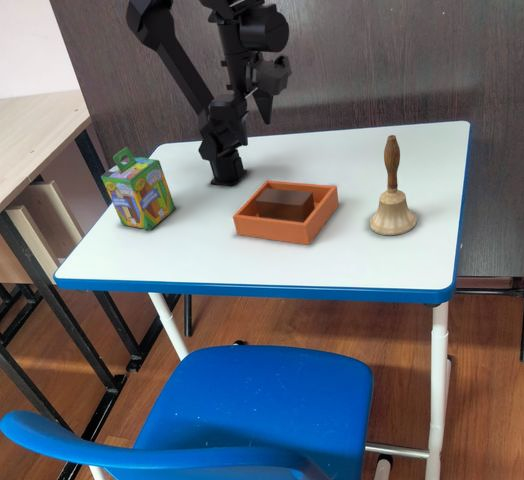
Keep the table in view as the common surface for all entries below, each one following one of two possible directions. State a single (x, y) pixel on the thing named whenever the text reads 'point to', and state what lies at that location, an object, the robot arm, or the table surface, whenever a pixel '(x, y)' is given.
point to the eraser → (285, 205)
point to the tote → (281, 229)
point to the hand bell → (392, 198)
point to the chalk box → (138, 190)
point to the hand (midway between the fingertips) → (256, 134)
